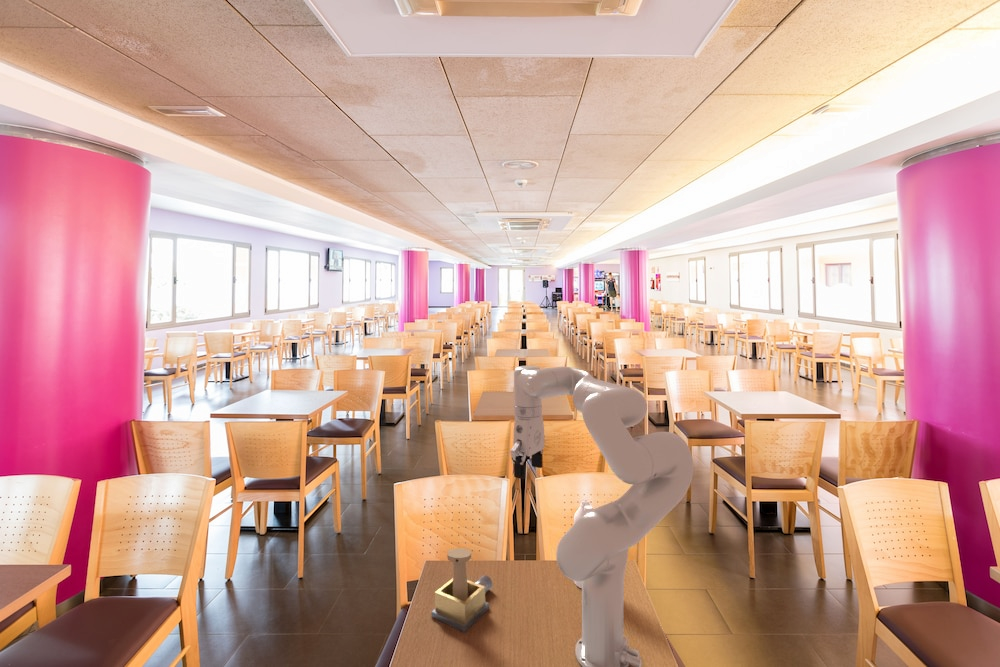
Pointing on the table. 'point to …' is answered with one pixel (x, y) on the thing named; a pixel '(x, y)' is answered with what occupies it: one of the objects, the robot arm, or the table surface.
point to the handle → (459, 571)
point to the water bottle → (579, 513)
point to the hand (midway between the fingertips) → (528, 472)
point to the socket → (462, 604)
